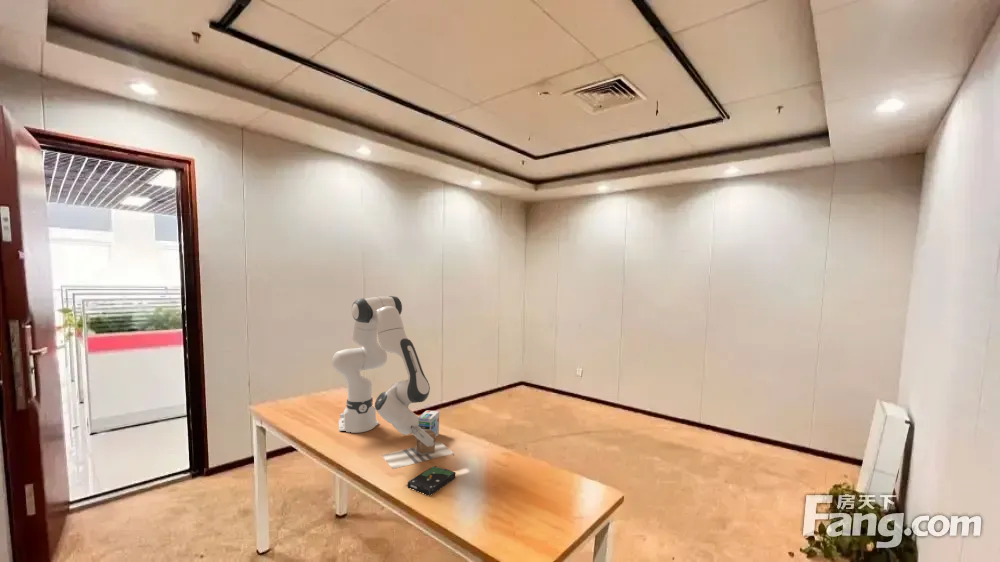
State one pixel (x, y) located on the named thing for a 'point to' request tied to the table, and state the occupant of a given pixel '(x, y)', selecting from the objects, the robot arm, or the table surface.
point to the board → (414, 456)
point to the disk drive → (431, 480)
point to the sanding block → (423, 448)
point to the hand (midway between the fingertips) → (429, 441)
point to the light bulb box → (429, 421)
